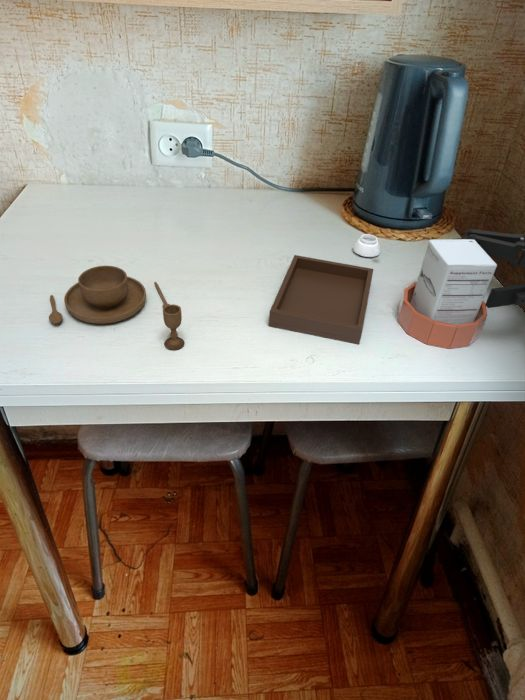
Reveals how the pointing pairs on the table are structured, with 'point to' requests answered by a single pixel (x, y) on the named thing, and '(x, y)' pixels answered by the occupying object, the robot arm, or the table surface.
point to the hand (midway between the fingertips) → (460, 272)
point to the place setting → (113, 301)
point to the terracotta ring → (438, 325)
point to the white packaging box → (453, 281)
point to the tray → (322, 299)
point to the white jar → (367, 246)
